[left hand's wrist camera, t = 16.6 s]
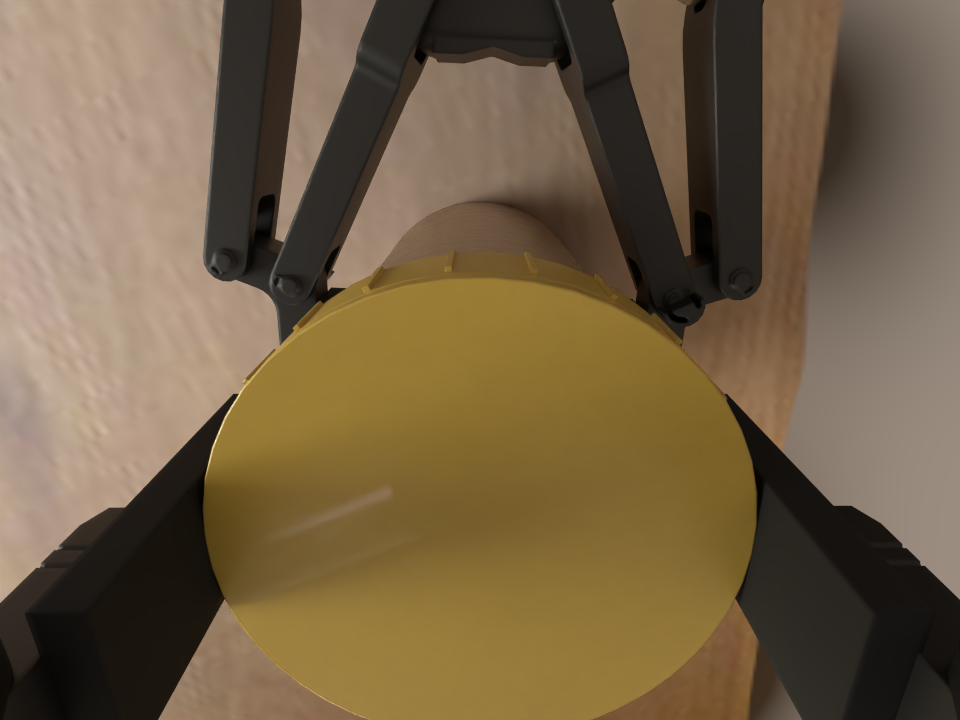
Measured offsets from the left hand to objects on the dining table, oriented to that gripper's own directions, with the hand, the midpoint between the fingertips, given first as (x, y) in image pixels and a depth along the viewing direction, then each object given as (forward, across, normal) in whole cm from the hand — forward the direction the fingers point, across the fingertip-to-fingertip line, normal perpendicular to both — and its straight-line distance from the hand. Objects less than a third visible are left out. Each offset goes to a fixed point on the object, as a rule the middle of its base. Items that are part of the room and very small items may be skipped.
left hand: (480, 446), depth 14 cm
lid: (-3, 0, 0) cm, 3 cm away
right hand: (+6, 0, -5) cm, 7 cm away
